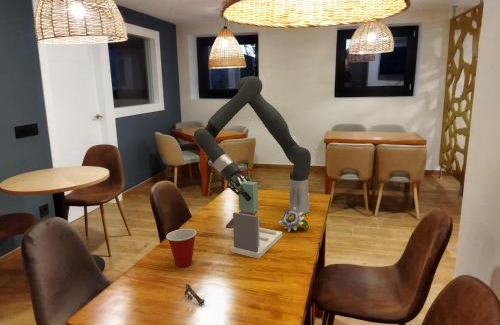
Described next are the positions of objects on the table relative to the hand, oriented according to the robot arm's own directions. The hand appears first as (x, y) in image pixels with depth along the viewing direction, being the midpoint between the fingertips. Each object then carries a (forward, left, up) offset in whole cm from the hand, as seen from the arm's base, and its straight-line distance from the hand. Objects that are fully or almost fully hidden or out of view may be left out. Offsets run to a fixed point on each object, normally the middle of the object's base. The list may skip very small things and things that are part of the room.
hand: (252, 198), depth 149 cm
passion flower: (-20, -4, -18) cm, 27 cm away
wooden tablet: (-2, -23, -18) cm, 29 cm away
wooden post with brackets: (+30, +37, -18) cm, 52 cm away
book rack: (0, +6, -18) cm, 19 cm away
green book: (+1, -1, -5) cm, 6 cm away
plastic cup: (+31, +13, -18) cm, 38 cm away
